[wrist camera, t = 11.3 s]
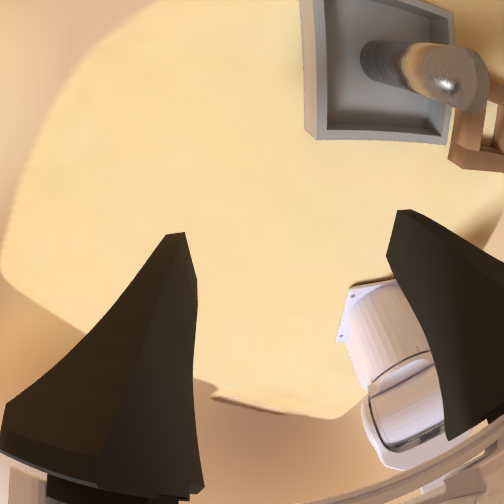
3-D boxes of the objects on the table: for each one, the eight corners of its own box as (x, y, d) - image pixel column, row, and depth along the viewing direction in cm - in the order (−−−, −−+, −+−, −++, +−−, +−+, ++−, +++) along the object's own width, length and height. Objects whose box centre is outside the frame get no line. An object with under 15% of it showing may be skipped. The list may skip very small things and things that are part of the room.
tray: (426, 134, 17) (446, 145, 15) (304, 129, 17) (316, 140, 15) (431, 14, 11) (453, 14, 9) (298, -16, 10) (310, -26, 9)
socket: (496, 164, 19) (509, 173, 17) (447, 158, 18) (462, 169, 17) (508, 91, 14) (523, 97, 12) (458, 69, 13) (475, 74, 12)
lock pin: (398, 84, 14) (486, 117, 8) (359, 80, 14) (445, 108, 8) (398, 44, 12) (490, 58, 6) (358, 37, 12) (448, 40, 6)
